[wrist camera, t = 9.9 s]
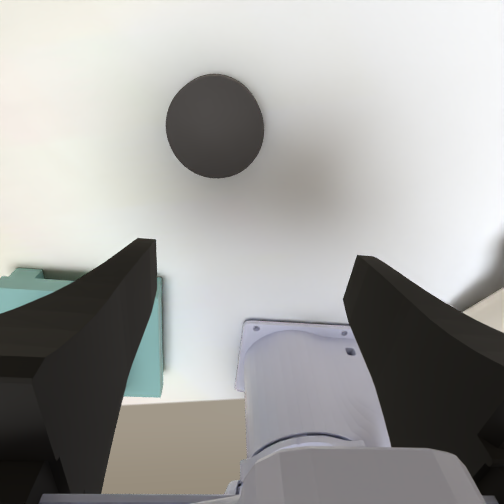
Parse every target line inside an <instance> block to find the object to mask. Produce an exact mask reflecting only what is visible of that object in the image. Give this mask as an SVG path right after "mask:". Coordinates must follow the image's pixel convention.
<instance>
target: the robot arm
mask: <svg viewBox="0 0 504 504" xmlns="http://www.w3.org/2000/svg"><path fill="white" fill-rule="evenodd" d="M156 291H157V258H156V240H155V239H142V238H137V239H136V240H134V241H133V242H132V243H130V244H129V245H128V246H126V247H125V248H124V249H122V250H121V251H120V252H118V253H117V254H115V255H114V256H113V257H111V258H110V259H108V260H107V261H106V262H104V263H103V264H101V265H100V266H98V267H97V268H95V269H93V270H92V271H90V272H89V273H87V274H86V275H84V276H82V277H81V278H79V279H77V280H76V281H74V282H72V283H70V284H68V285H66V286H64V287H62V288H60V289H58V290H56V291H55V292H53V293H50V294H48V295H46V296H44V297H41V298H39V299H36V300H34V301H32V302H29V303H27V304H25V305H22V306H20V307H17V308H15V309H12V310H9V311H6V312H4V313H1V314H0V504H504V333H503V332H501V331H499V330H496V329H494V328H492V327H490V326H488V325H486V324H483V323H481V322H479V321H477V320H475V319H473V318H472V317H470V316H468V315H466V314H464V313H462V312H460V311H458V310H456V309H455V308H453V307H451V306H449V305H448V304H446V303H444V302H443V301H441V300H439V299H438V298H436V297H435V296H433V295H431V294H430V293H428V292H427V291H425V290H424V289H422V288H421V287H419V286H418V285H416V284H415V283H413V282H412V281H410V280H409V279H407V278H406V277H404V276H403V275H402V274H400V273H399V272H397V271H396V270H394V269H393V268H391V267H390V266H388V265H387V264H385V263H384V262H382V261H381V260H379V259H377V258H375V257H373V256H361V255H357V257H356V260H355V264H354V267H353V270H352V273H351V276H350V279H349V282H348V285H347V289H346V292H345V295H344V298H343V302H344V306H345V310H346V314H347V318H348V322H349V325H350V326H341V325H323V324H305V323H288V322H270V321H252V320H250V321H246V322H245V323H244V325H243V331H242V338H241V346H240V353H239V360H238V367H237V374H236V381H235V389H236V390H237V391H240V392H245V414H246V443H247V459H244V460H241V461H240V480H236V481H231V482H230V483H229V485H228V487H227V490H226V491H225V493H224V494H223V495H222V494H220V495H219V494H213V495H212V494H205V495H204V494H101V491H102V487H103V482H104V477H105V472H106V468H107V463H108V458H109V454H110V449H111V445H112V441H113V436H114V432H115V428H116V424H117V420H118V415H119V411H120V407H121V403H122V399H123V395H124V391H125V388H126V384H127V380H128V376H129V373H130V370H131V367H132V364H133V361H134V359H135V356H136V353H137V351H138V348H139V345H140V343H141V340H142V337H143V335H144V332H145V329H146V327H147V324H148V321H149V318H150V316H151V313H152V309H153V305H154V301H155V296H156ZM255 326H258V327H257V328H255ZM343 331H345V332H343Z"/></svg>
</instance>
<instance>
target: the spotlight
mask: <svg viewBox="0 0 504 504" xmlns="http://www.w3.org/2000/svg"><path fill="white" fill-rule="evenodd" d="M462 313H464V314H466V315H468V316H470V317H472V318H473V319H475V320H477V321H479V322H481V323H483V324H486V325H488V326H490V327H492V328H494V329H496V330H499V331H501V332H503V333H504V287H503V288H501V289H500V290H498V291H496V292H495V293H493V294H491V295H490V296H488V297H486V298H485V299H483V300H481V301H480V302H478V303H476V304H475V305H473V306H471V307H470V308H468V309H466V310H465V311H463V312H462Z"/></svg>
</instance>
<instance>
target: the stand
mask: <svg viewBox="0 0 504 504" xmlns="http://www.w3.org/2000/svg"><path fill="white" fill-rule="evenodd" d="M72 282H74V281H69V280H53V279H44V275H43V271H42V269H27V268H17V269H16V270H15V271H14V272H13V273H12V274H11V275H10V276H9V277H6V276H2V277H1V278H0V314H1V313H4V312H6V311H9V310H12V309H15V308H17V307H20V306H22V305H25V304H27V303H29V302H32V301H34V300H36V299H39V298H41V297H44V296H46V295H48V294H50V293H53V292H55V291H56V290H58V289H60V288H62V287H64V286H66V285H68V284H70V283H72ZM161 297H162V278H161V277H157V291H156V296H155V301H154V305H153V309H152V313H151V316H150V318H149V321H148V324H147V327H146V329H145V332H144V335H143V337H142V340H141V343H140V345H139V348H138V351H137V353H136V356H135V359H134V361H133V364H132V367H131V370H130V373H129V376H128V380H127V384H126V385H127V387H126V390H125V394H124V396H130V397H161V393H162V388H163V352H162V306H161Z"/></svg>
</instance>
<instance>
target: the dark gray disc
mask: <svg viewBox="0 0 504 504" xmlns="http://www.w3.org/2000/svg"><path fill="white" fill-rule="evenodd" d="M166 133H167V138H168V141H169V144H170V147H171V149H172V151H173V153H174V154H175V156H176V157H177V158H178V160H179V161H180V162H181V163H182V164H183V165H184V166H185V167H187V168H188V169H189V170H191V171H193V172H194V173H196V174H199V175H201V176H204V177H209V178H226V177H230V176H233V175H236V174H238V173H240V172H241V171H243V170H244V169H246V168H247V167H248V166H249V165H250V164H251V163H252V162H253V161H254V159H255V158H256V156H257V155H258V153H259V150H260V148H261V145H262V142H263V136H264V123H263V118H262V114H261V111H260V109H259V106H258V104H257V102H256V100H255V98H254V96H253V95H252V93H251V92H250V91H249V90H248V89H247V88H246V87H245V86H244V85H243V84H242V83H240V82H239V81H237V80H235V79H233V78H231V77H228V76H225V75H220V74H209V75H204V76H200V77H198V78H196V79H194V80H192V81H191V82H189V83H188V84H187V85H185V86H184V87H183V88H182V89H181V90H180V91H179V92H178V93H177V94H176V96H175V97H174V98H173V100H172V102H171V104H170V106H169V109H168V112H167V118H166Z"/></svg>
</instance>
